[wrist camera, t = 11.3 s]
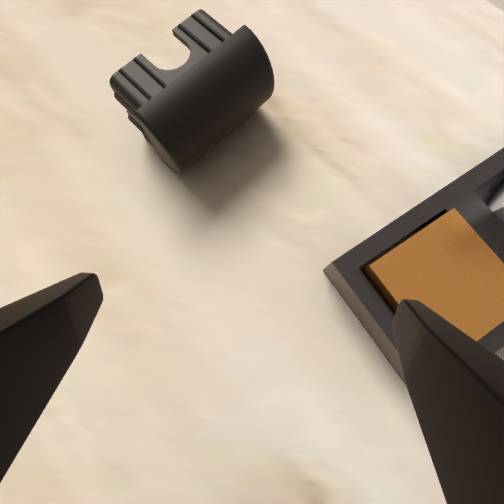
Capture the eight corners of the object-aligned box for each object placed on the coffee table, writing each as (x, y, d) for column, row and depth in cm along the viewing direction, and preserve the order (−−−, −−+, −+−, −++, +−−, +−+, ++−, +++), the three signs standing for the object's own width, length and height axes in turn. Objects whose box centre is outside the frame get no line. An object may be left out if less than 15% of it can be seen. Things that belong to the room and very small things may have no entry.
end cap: (189, 190, 25) (163, 142, 18) (137, 138, 26) (95, 76, 19) (274, 117, 26) (278, 48, 19) (220, 71, 27) (207, -8, 21)
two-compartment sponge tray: (613, 235, 22) (686, 217, 19) (408, 388, 20) (443, 403, 16) (516, 140, 25) (564, 106, 21) (322, 270, 23) (335, 258, 19)
